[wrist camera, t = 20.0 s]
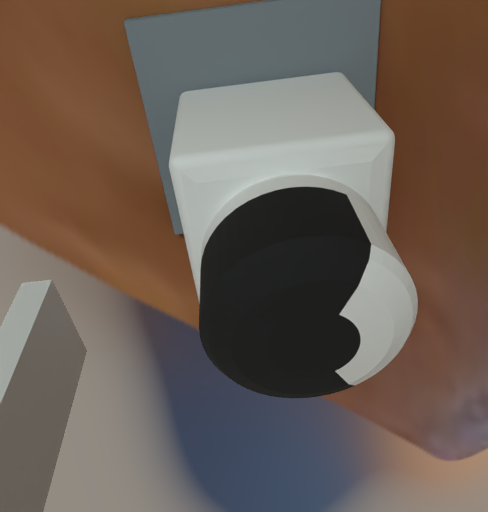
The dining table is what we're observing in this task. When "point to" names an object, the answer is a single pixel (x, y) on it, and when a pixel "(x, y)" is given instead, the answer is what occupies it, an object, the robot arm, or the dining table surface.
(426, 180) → the dining table surface
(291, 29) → the pad
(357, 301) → the container
